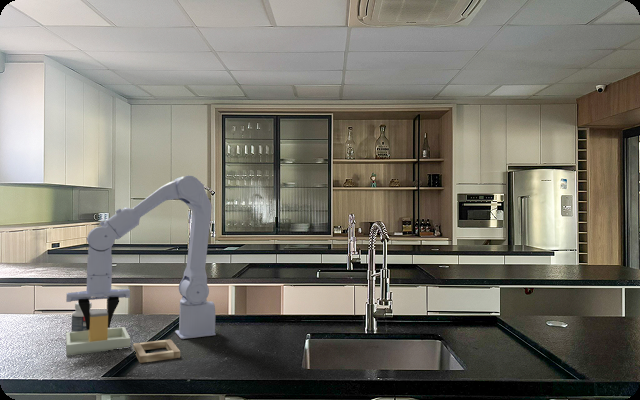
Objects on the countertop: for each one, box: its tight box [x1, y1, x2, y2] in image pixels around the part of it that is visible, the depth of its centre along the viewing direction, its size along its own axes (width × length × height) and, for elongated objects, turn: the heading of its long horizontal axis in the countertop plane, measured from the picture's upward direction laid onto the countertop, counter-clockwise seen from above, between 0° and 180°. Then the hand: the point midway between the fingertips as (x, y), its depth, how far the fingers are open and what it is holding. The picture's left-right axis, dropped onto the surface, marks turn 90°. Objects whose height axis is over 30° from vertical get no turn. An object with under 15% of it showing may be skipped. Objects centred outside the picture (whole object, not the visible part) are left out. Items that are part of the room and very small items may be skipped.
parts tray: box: [65, 326, 131, 357], centre depth 119 cm, size 14×12×2 cm
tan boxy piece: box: [88, 308, 108, 342], centre depth 119 cm, size 4×6×7 cm, turn 29°
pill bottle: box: [70, 301, 93, 332], centre depth 127 cm, size 5×5×9 cm
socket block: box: [132, 338, 181, 364], centre depth 114 cm, size 9×11×2 cm
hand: (97, 327), depth 119 cm, fingers closed on tan boxy piece, 4 cm apart
